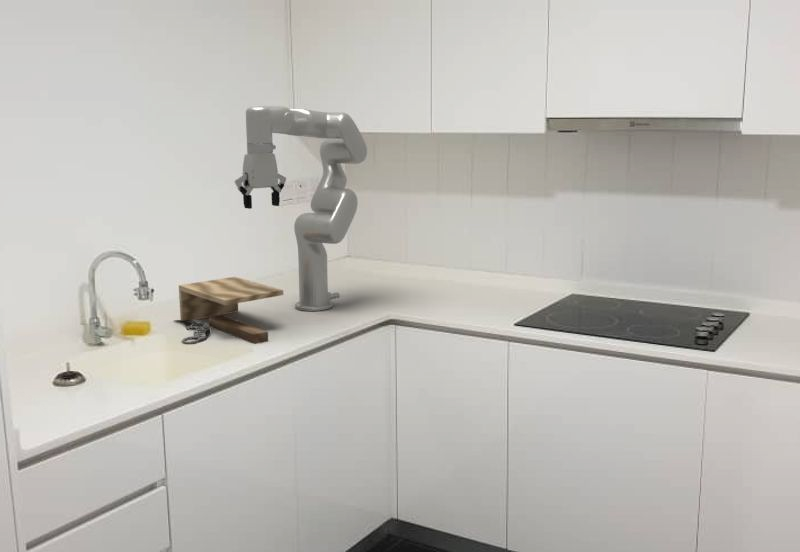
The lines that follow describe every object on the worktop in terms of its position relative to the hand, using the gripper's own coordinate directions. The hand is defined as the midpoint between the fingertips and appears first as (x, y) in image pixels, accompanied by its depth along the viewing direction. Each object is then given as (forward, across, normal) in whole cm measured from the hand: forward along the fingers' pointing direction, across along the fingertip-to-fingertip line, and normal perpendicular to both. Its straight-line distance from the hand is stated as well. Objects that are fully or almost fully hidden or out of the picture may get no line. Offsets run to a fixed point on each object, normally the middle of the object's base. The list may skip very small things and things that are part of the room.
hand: (262, 206), depth 249 cm
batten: (+35, +10, +4) cm, 37 cm away
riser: (+36, +8, -7) cm, 38 cm away
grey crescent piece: (+37, +21, -8) cm, 43 cm away
